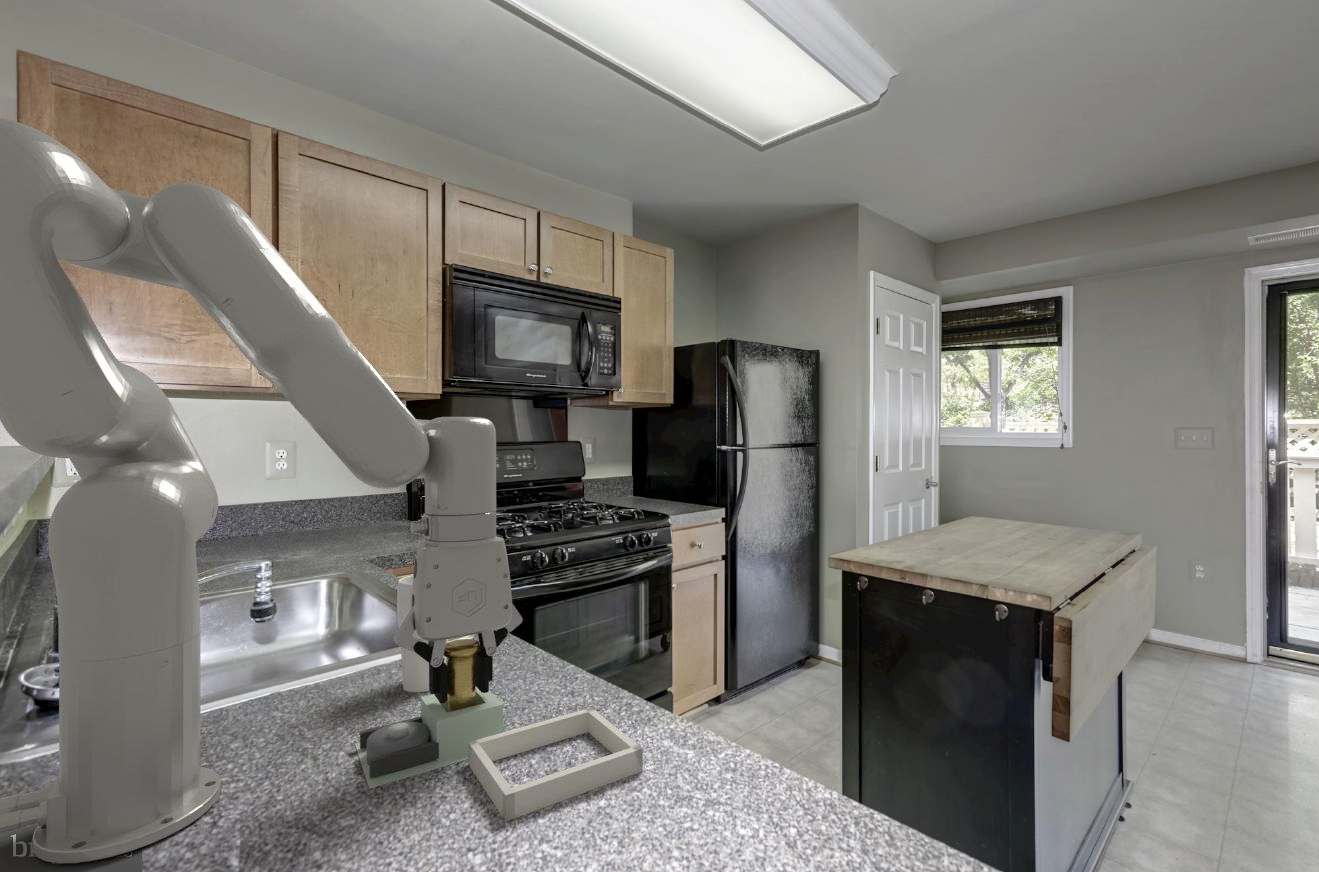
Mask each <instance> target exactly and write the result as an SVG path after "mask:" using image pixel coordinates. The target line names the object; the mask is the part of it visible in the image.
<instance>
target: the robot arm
mask: <svg viewBox="0 0 1319 872" xmlns="http://www.w3.org/2000/svg"><path fill="white" fill-rule="evenodd" d="M59 261H63V262H65V263H69V264H71V265H74V266H78V267H82V268H85V269H86V268H87V269H89V270H95V271H100V272H104V273H108V274H112V275H116V276H122V277H126V278H131V279H135V280H140V281H143V282H148V283H152V284H157V285H161V286H166V287H169V288H174V289H175V288H176V289H181V290H185V291H187V292H188V293H189V294H190V295H191V297H193V298H194V300H195V301H196V303H198V304H199V306H201V307H202V309H203V310H204V311H205V312H206V313H207V314H208V316H210V318H211V319H212V320H213V321H214V322H215V324H217V326H218V327H219V328H220V329H221V331H223V332H224V333H225V335H226V336H227V338H229V340H231V342H232V343H233V344H234V345H235V346H236V348H237V349H238V350H239V351H240V352H241V353H242V355H244V356H245V358H246V359H247V360H248V361H249V362H250V363H251V364H252V366H253V367H254V368H255V369H256V371H257V372H258V373H259V374H260V375H261V376H262V377H263V378H265V379H266V380H267V381H269V382H270V383H271V384H272V385H273V386H274V387H275V388H276V389H277V390H278V391H279V392H280V393H281V394H282V395H283V396H284V397H285V398H286V400H287V401H288V402H289V403H290V404H291V405H292V406H293V408H295V410H296V411H297V412H298V413H299V414H300V416H301V417H303V419H304V420H305V421H306V422H307V423H308V425H309V426H310V427H311V428H312V429H313V430H314V432H315V433H316V434H317V435H318V436H319V437H320V438H321V440H323V442H324V443H325V444H326V445H327V446H328V448H329V449H331V451H332V452H333V453H334V454H335V455H336V456H337V458H338V459H340V461H341V462H342V463H343V464H344V466H345V467H346V468H347V469H348V471H349V472H350V473H351V474H352V475H353V476H355V478H357V479H358V480H359V481H361V482H362V483H363V484H366V485H368V486H370V487H373V488H377V489H381V490H383V489H384V490H385V489H386V490H388V489H389V490H390V489H397V488H401V487H403V486H405V485H409V484H410V483H411V482H413V481H415V480H419V479H424V513H422V515H423V517H421V519H418V520H413V521H412V520H411V521H410V533H411V534H412V535H415V534H416V535H417V534H418V535H420V536H421V535H422V536H423V538H424V541H420V542H419V543H418V546H417V551H416V555H415V560H414V566H413V567H414V569H413V574H412V575H413V583H412V594H411V610H410V612H409V613H408V615H407V616H406V618H405V620H404V621H403V623H402V625H401V626H400V628H399V627H398V629H397V631H396V633H395V634H394V636H393V641H394V643H395V644H396V646H398V647H400V648H401V647H403V648H405V649H407V650H410V651H413V652H415V653H417V654H418V655H419V656H420V657H422V658H423V659H424V660H426V661H427V662H428V663H429V690H430V691H429V693H430V695H433V694H434V695H435V697H436V698H437V699H438V701H439V702H440V704H441V703H446V701H448V667H447V663H446V664H445V663H444V658H443V656H444V650H445V644H446V639H448V640H450V639H455V638H461V637H465V636H471V635H476V637H477V641H478V642H479V652H478V653H477V654H476V687H477V688H478V689H479V690H480V691H481V692H483V693H487V692H489V690H490V687H489V686H490V682H492V681H493V680H494V679H493V678H494V674H493V673H494V672H493V668H494V665H493V663H494V662H493V659H494V658H493V656H494V655H496V653H497V651H498V647H499V646H500V645H501V644H502V643H503V642H504V640H505V639H506V638H507V636H508V635H509V633H511V632H512V631H514V630H515V629H516V628H517V627H518V626H520V625H521V624H522V622H523V617H522V615H521V614H520V612H519V610H518V609H517V608H516V606H515V605H514V604H513V595H512V587H511V586H512V584H511V575H510V574H511V573H510V565H509V558H508V552H507V548H506V542H505V538H503V537H500V536H498V535H497V430H496V427H495V424H494V423H493V422H492V421H491V420H490V419H487V418H485V417H477V416H441V417H435V418H433V419H417V418H416V417H415V416H414V415H413V414H412V413H411V411H410V410H409V409H408V408H407V407H406V405H405V404H404V403H403V402H402V401H401V399H400V398H399V396H397V394H396V393H395V392H394V390H392V388H390V387H391V386H389V385H388V384H387V383H386V381H385V380H384V379H383V377H382V376H381V375H380V374H379V373H378V372H377V370H376V369H375V368H374V367H373V365H372V364H371V363H370V362H369V361H368V360H367V359H366V357H364V355H363V354H362V353H361V352H360V350H359V349H358V348H357V347H356V346H355V344H354V343H352V341H351V340H350V338H349V337H348V336H347V335H346V333H345V331H344V330H343V329H342V327H341V326H340V325H339V324H338V322H337V321H336V320H335V319H334V317H332V315H331V314H330V313H329V312H328V310H327V309H326V307H324V305H323V304H322V303H321V302H320V301H319V299H317V297H316V296H315V295H314V294H313V293H312V292H311V290H310V289H309V288H308V287H307V285H306V284H305V283H304V281H302V280H301V278H300V277H299V276H298V274H297V273H296V272H295V271H294V270H293V268H292V266H290V264H289V263H288V262H287V261H286V260H285V259H284V257H283V256H282V255H281V254H280V252H279V251H278V250H277V248H276V247H275V246H274V245H273V244H272V242H271V241H270V240H269V239H268V237H266V235H265V234H264V233H263V231H261V229H260V228H259V227H258V226H257V224H256V223H255V222H254V220H253V219H252V218H251V217H250V216H249V215H248V213H247V212H246V211H245V210H244V209H243V208H242V207H241V206H240V205H239V204H238V203H237V202H236V201H234V199H232V198H231V197H230V196H228V195H227V194H225V193H224V192H222V191H221V190H218V189H217V188H215V187H212V186H209V185H206V184H202V183H195V182H179V183H174V184H170V185H167V186H165V187H162V188H160V189H159V190H157V191H156V192H155V193H153V194H152V196H150V198H147V197H143V196H139V195H136V194H133V193H130V192H126V191H121V190H119V189H115V188H112V187H110V186H108V184H106V183H105V181H103V179H101V177H99V175H97V174H96V173H95V171H93V170H92V169H91V168H90V167H89V166H88V165H87V164H86V163H85V162H84V161H83V160H82V159H81V158H80V156H78V155H76V153H74V152H73V151H72V150H71V149H70V148H68V146H65V145H64V144H63V143H61V142H60V141H58V140H57V139H55V138H54V137H52V136H50V135H48V134H46V133H45V132H42V131H41V130H38V129H37V128H34V127H33V126H30V125H28V124H25V123H22V122H18V121H15V120H13V119H8V118H4V117H0V422H1V425H2V427H3V428H4V430H5V431H6V433H7V434H8V435H9V436H10V437H11V438H13V439H14V441H15V442H16V443H18V444H19V445H20V446H22V447H23V448H25V449H27V450H29V451H31V452H34V453H36V454H38V455H42V456H46V457H50V458H56V459H57V458H59V459H69V461H70V462H71V464H72V466H73V467H74V469H75V471H76V472H77V474H78V476H79V477H80V479H79V480H77V481H76V482H75V483H74V484H73V485H71V486H70V487H69V488H68V489H67V490H66V491H65V492H64V494H63V495H62V496H61V497H60V498H59V500H58V502H57V503H56V504H55V506H54V509H53V512H52V513H51V516H50V520H49V524H48V531H47V536H48V538H47V539H48V540H47V542H48V546H47V547H48V551H49V553H48V554H49V559H50V562H51V569H52V574H53V579H54V586H55V590H56V591H55V592H56V600H57V618H58V658H59V660H58V662H59V663H58V665H59V666H58V667H59V668H58V670H59V671H58V672H59V673H58V674H59V675H58V682H59V683H58V684H59V685H58V689H59V690H58V693H59V696H58V706H59V707H58V709H59V711H58V719H59V720H58V723H59V724H58V725H59V726H58V733H59V734H58V735H59V736H58V778H57V780H56V781H53V782H50V783H44V785H43V786H42V788H41V789H38V790H34V791H30V792H26V793H16V794H12V795H8V796H7V795H6V796H3V797H0V834H3V833H6V832H7V833H8V832H10V831H14V830H18V829H21V828H23V827H27V826H31V825H35V824H37V827H36V828H35V830H34V831H33V834H32V841H31V842H32V853H33V854H34V855H35V856H36V858H38V859H41V860H43V861H44V862H48V863H54V864H55V863H56V864H79V863H87V862H94V861H99V860H103V859H108V858H113V857H115V856H116V857H117V856H119V855H123V854H126V853H130V852H132V851H135V850H138V849H140V848H143V847H146V846H149V845H151V844H154V843H156V842H158V841H160V840H162V839H165V838H168V837H169V836H171V835H173V834H175V833H177V832H179V831H180V830H182V829H184V828H185V827H187V826H188V825H190V824H192V823H194V822H195V821H197V819H199V818H201V817H202V816H203V815H204V814H206V813H207V812H208V811H209V809H210V808H212V806H213V805H215V803H216V802H217V800H218V799H219V797H220V795H221V790H222V786H221V785H222V784H221V777H220V775H219V774H218V772H216V771H215V770H213V769H211V768H208V767H204V766H201V597H200V583H199V573H198V564H197V562H198V561H197V542H198V541H199V540H200V539H201V538H203V537H204V536H205V534H207V532H208V531H209V530H210V529H211V527H213V524H214V522H215V520H216V518H217V515H218V511H219V496H218V493H217V492H218V491H217V489H216V486H215V484H214V482H213V480H212V478H211V476H210V474H209V472H208V470H207V468H206V466H205V464H204V463H203V461H202V459H201V457H200V455H199V453H198V451H197V449H196V448H195V445H194V444H193V442H192V440H191V438H190V436H189V435H188V432H187V431H186V428H185V426H184V425H183V423H182V422H181V420H180V417H179V416H178V413H177V412H176V410H175V408H174V407H173V405H172V403H171V401H170V400H169V398H168V397H167V395H166V394H165V392H164V391H163V389H161V387H160V386H159V385H158V384H157V383H156V382H155V381H154V380H153V379H152V378H151V377H149V376H148V375H147V374H145V373H144V372H142V371H141V370H139V369H137V368H134V367H133V366H131V365H128V364H125V363H122V362H121V361H120V360H118V358H117V357H116V356H115V355H114V353H113V352H112V350H111V349H110V347H109V346H108V344H107V342H106V340H105V339H104V337H103V336H102V333H101V332H100V331H99V328H98V327H97V325H96V324H95V322H94V320H93V318H92V316H91V314H90V312H89V309H88V308H87V305H86V303H85V301H84V300H83V298H82V296H81V294H80V293H79V291H78V290H77V288H76V287H75V285H74V284H73V282H72V280H71V279H70V278H69V276H68V274H66V272H65V270H64V269H63V268H62V266H61V264H60V262H59ZM415 630H416V631H417V634H418V635H419V636H420V637H421V638H422V639H424V640H427V644H426V643H425V642H424V641H423V640H421V639H418V638H415V637H414V636H413V633H414V631H415Z"/></svg>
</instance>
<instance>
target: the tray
mask: <svg viewBox="0 0 1319 872" xmlns="http://www.w3.org/2000/svg"><path fill="white" fill-rule="evenodd" d="M586 733H589V735H591V736H592V737H594V739H596V740H597V741H598V742H599V743H600V744H601V745H603V746H604V747H605V748H606V749H607V750H608V751H609V752H610V753H611V754H608V755H605V756H602V757H600V758H596V759H593V760H590V761H587V762H584V763H581V764H579V765H576V766H573V767H569V768H566V769H563V770H561V771H558V772H555V773H551V774H549V775H546V776H543V777H540V778H538V779H534V780H530V781H528V782H525V783H521V784H518V785H516V786H512V787H511V785H510V784H509V783H508V782H507V780H506V779H505V777H504V776H503V775H502V773H501V772H500V770H499V769H498V768H497V766H496V765H495V764H494V762H495V761H498V760H502V759H504V758H508V757H512V756H514V755H517V754H520V753H524V752H528V751H531V750H534V749H538V748H541V747H544V746H547V745H550V744H553V743H554V744H555V743H557V742H560V741H563V740H567V739H569V738H574V737H576V736H580V735H583V734H586ZM643 753H644V752H643V748H642V747H641V746H640V745H639V744H638V743H636V742H635V741H634V740H633V739H632V738H631V737H629V736H628V735H626V734H625V733H624V732H623V731H622V730H620V729H619V728H618V727H617V726H615V725H614V724H613V723H611V722H610V721H609V720H607V719H606V718H605V717H604V716H603V715H601V714H600V713H599V712H597V711H596V709H594V708H593V707H588V708H586V709H581V710H578V711H575V712H572V713H568V714H564V715H561V716H556V717H554V718H550V719H545V720H543V721H539V722H536V723H535V722H534V723H531V724H529V725H525V726H521V727H517V728H513V729H511V730H507V731H503V733H499V734H496V735H492V736H489V737H485V738H482V739H478V740H474V741H471V742H468V759H467V761H468V762H467V763H468V766H469V768H470V769H471V771H472V772H473V774H474V775H475V777H476V778H477V780H478V782H479V783H480V784H481V787H483V789H484V790H485V793H486V794H487V795H488V797H489V798H490V800H491V801H492V803H493V804H494V806H495V808H496V809H497V810H498V812H499V813H500V816H501V817H502V818H503V820H504V821H505V822H508V821H511V820H515V819H516V818H519V817H522V816H524V815H527V814H530V813H533V812H535V811H538V810H540V809H544V808H546V807H548V806H552V805H554V804H557V803H560V802H562V801H565V800H569V799H570V798H573V797H576V796H579V795H582V794H584V793H587V792H590V791H593V790H596V789H599V788H601V787H604V786H606V785H609V784H611V783H614V782H617V781H620V780H623V779H625V778H628V777H631V776H633V775H636V774H639V773H642V772H643V771H644V767H643V764H644V763H643V759H644V758H643V755H644V754H643Z"/></svg>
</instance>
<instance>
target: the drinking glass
mask: <svg viewBox="0 0 1319 872" xmlns="http://www.w3.org/2000/svg"><path fill="white" fill-rule="evenodd" d="M412 583H413V574H411V575H407V576H404V577H401V578H399V579H398V581H397V589H396V590H397V592H396V593H397V594H396V595H397V596H396V601H397V602H396V611H397V623H398V624H397V626H398V629H399V628H400V626H401V625H402V623H403V621H404V620H405V618H406V616H407V615H408V613H409V612H410V610H411V594H412ZM413 636H414V637H415V638H418V639H421V640H423V641H424V642H425V643H426V644H427V640H424V639H422V638H421V637H420V636H419V635H418V634H417V631H416V630H415V631H414V633H413ZM448 642H449V639H446V643H448ZM400 655H401V657H400V658H401V665H402V666H401V668H402V689H403V690H404V691H405V692H408V693H425V692H430V690H429V663H428V662H427V661H426V660H424V659H423V658H422V657H420V656H419V655H418V654H417V653H415V652H413V651H410V650H407V649H405V648H403V647H400ZM443 658H444V663H445V664H446V665H447V657H445V656H443Z"/></svg>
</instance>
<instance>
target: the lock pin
mask: <svg viewBox="0 0 1319 872" xmlns="http://www.w3.org/2000/svg"><path fill="white" fill-rule="evenodd" d="M478 652H479V642H478V639H471V638H463V639H456V640H451V641H448V643H446V644H445V650H444V656H445V657H447V659H446V665H447V667H448V701H447V713H448V712H452V711H456V710H460V709H464V708H468V707H472V706H476V654H477V653H478Z"/></svg>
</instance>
